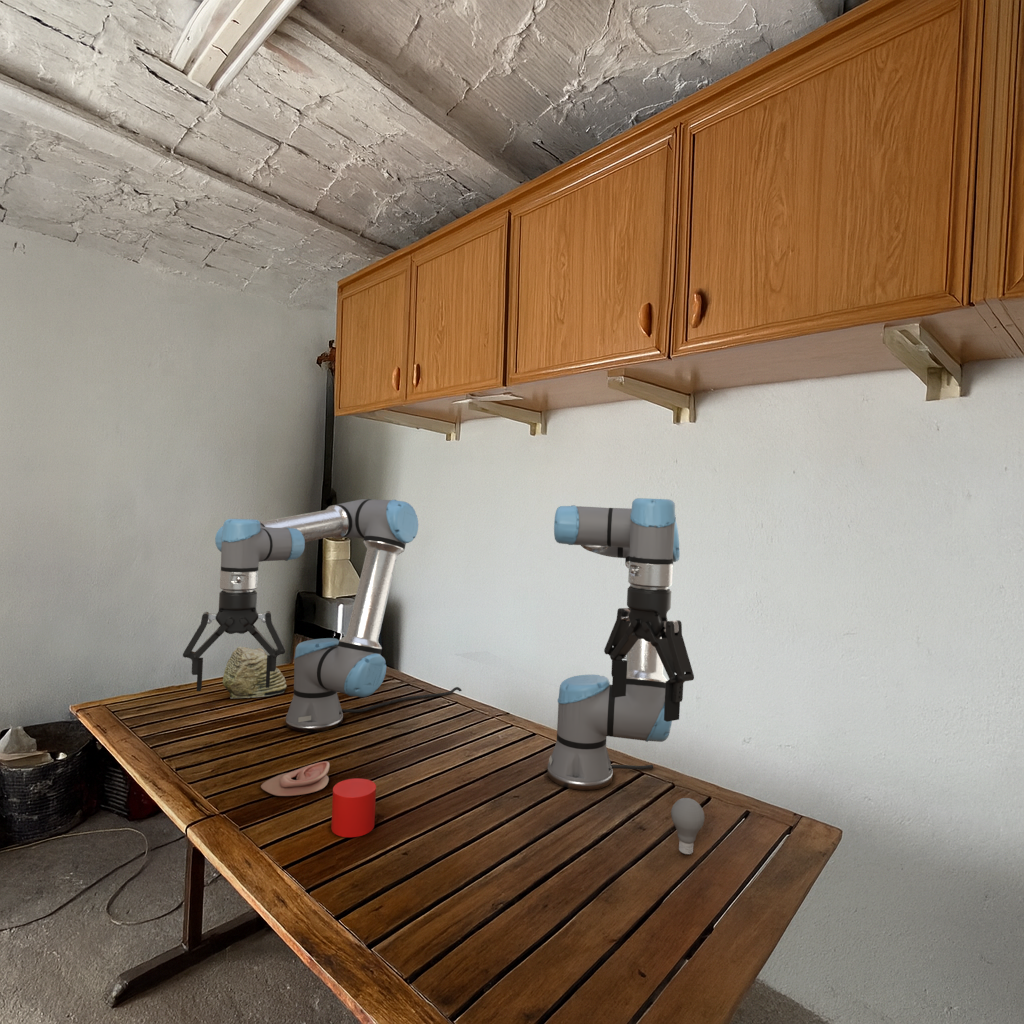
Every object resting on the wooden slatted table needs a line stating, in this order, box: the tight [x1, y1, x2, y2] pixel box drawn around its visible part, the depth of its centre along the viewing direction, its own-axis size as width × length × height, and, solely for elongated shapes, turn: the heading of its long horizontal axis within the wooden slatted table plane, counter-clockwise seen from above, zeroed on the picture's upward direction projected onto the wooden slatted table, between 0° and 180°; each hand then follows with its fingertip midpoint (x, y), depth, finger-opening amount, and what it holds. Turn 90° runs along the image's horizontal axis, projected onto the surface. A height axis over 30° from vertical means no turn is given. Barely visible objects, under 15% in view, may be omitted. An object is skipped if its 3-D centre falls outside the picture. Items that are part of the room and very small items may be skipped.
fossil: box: [222, 646, 288, 699], centre depth 198 cm, size 9×18×15 cm, turn 132°
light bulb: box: [670, 797, 706, 855], centre depth 118 cm, size 6×6×10 cm
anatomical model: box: [260, 760, 331, 797], centre depth 138 cm, size 13×4×12 cm
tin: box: [330, 777, 377, 838], centre depth 122 cm, size 8×8×8 cm
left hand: (233, 688), depth 137 cm, fingers open, 13 cm apart
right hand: (643, 707), depth 111 cm, fingers open, 13 cm apart
